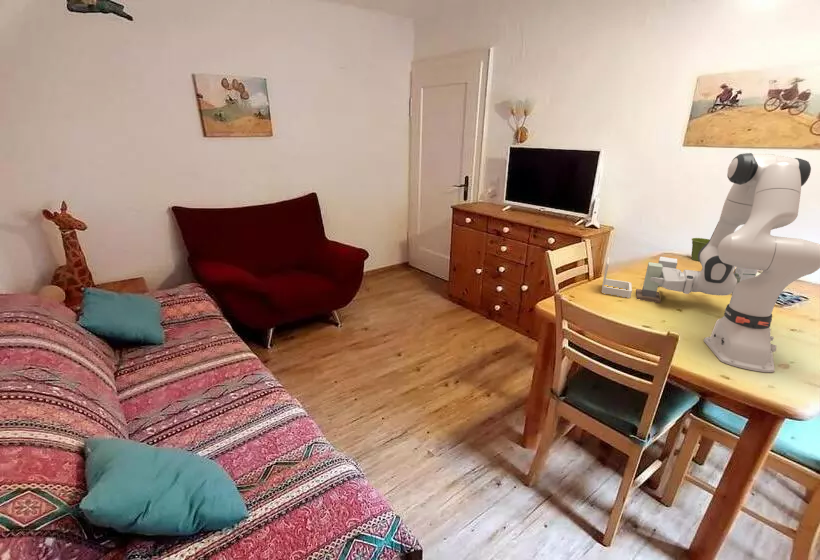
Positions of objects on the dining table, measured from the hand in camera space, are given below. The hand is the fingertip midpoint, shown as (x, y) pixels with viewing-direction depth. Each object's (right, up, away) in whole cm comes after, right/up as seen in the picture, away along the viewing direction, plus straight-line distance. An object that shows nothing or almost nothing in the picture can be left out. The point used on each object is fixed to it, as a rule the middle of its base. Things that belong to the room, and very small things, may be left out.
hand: (649, 275), depth 177 cm
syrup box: (+44, -9, +7) cm, 45 cm away
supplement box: (+16, -5, +17) cm, 24 cm away
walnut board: (+1, -10, +3) cm, 10 cm away
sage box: (+1, -9, +3) cm, 9 cm away
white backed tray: (-11, -7, +8) cm, 15 cm away
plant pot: (+59, +9, +54) cm, 81 cm away
